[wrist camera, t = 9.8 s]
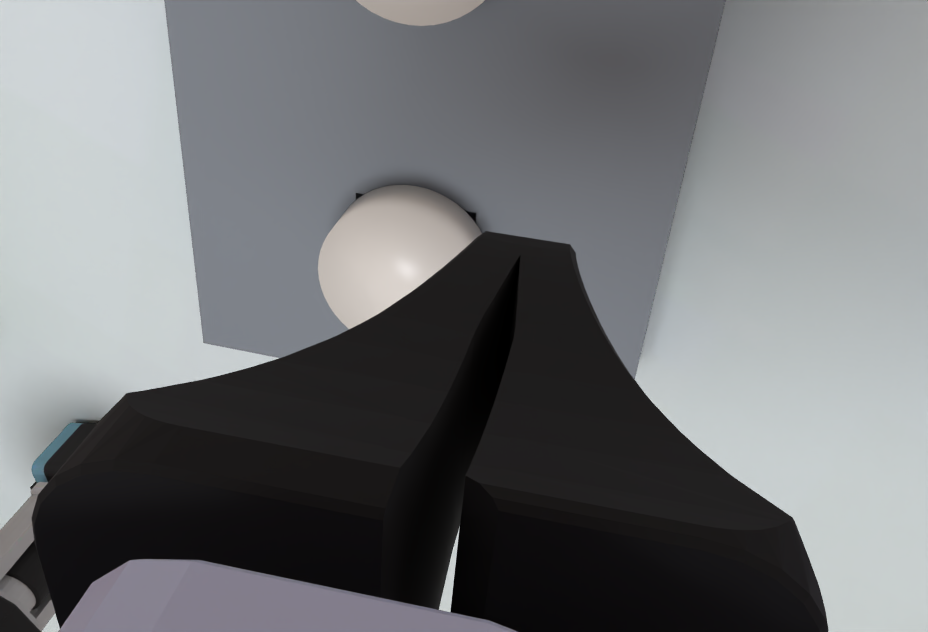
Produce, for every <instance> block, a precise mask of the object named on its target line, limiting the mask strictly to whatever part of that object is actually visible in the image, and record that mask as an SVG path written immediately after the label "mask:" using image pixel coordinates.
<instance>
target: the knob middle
mask: <svg viewBox="0 0 928 632" xmlns="http://www.w3.org/2000/svg"><path fill="white" fill-rule="evenodd" d="M356 1H357V2H358V3H359V4H361V5H362V6H364V7H365V8H367V9H368V10H369V11H371V12H373V13H375V14H377V15H379V16H381V17H383V18H385V19H388V20H391V21H394V22H397V23H401V24H406V25H415V26H428V25H437V24H442V23H446V22H449V21H452V20H455V19H457V18H460V17H462V16H463V15H465V14H467V13H469V12H471V11H472V10H474V9H475V8H476V7H478V6H479V5H480V4H482V3H483V2H484V1H485V0H356Z"/></svg>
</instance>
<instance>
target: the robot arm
mask: <svg viewBox="0 0 928 632" xmlns="http://www.w3.org/2000/svg"><path fill="white" fill-rule="evenodd" d="M31 518H32V526H33V534H34V542H35V546H36V550H37V553H38V556H39V560H40V563H41V566H42V570H43V573H44V576H45V580H46V583H47V586H48V590H49V593H50V596H51V600H52V603H53V606H54V610H55V613H56V617H57V620H58V623H59V627H60V630H59V631H58V632H828V624H827V618H826V612H825V607H824V603H823V600H822V596H821V592H820V588H819V585H818V582H817V579H816V577H815V574H814V571H813V568H812V566H811V563H810V560H809V557H808V555H807V552H806V550H805V547H804V544H803V542H802V539H801V536H800V534H799V531H798V529H797V526H796V524H795V521H794V520H793V518H792V517H791V516H789V515H788V514H786V513H785V512H784V511H782V510H781V509H779V508H778V507H776V506H775V505H773V504H772V503H770V502H769V501H767V500H766V499H765V498H763V497H762V496H760V495H759V494H757V493H756V492H754V491H753V490H751V489H750V488H748V487H747V486H746V485H744V484H743V483H741V482H740V481H738V480H737V479H735V478H734V477H733V476H731V475H730V474H729V473H727V472H726V471H725V470H724V469H723V468H721V467H720V466H719V465H718V464H717V463H715V462H714V461H713V460H712V459H710V458H709V457H708V456H707V455H706V454H704V453H703V452H702V451H701V450H700V449H698V448H697V447H696V446H695V445H694V444H693V443H692V442H691V441H690V440H689V439H688V438H686V437H685V436H684V435H683V434H682V433H681V432H680V431H679V430H678V429H677V428H676V427H675V426H674V425H673V424H672V423H671V422H670V421H669V420H668V419H667V418H666V417H665V415H664V414H663V413H662V412H661V411H660V410H659V409H658V408H657V407H656V406H655V405H654V404H653V403H652V402H651V400H650V399H649V398H648V397H647V396H646V395H645V393H644V392H643V390H642V389H641V388H640V386H639V385H638V384H637V382H636V381H635V380H634V378H633V377H632V376H631V374H630V373H629V371H628V370H627V368H626V367H625V365H624V364H623V362H622V361H621V359H620V357H619V356H618V354H617V352H616V351H615V349H614V347H613V346H612V344H611V342H610V340H609V339H608V337H607V335H606V333H605V331H604V329H603V327H602V326H601V324H600V321H599V319H598V317H597V315H596V313H595V311H594V308H593V306H592V304H591V302H590V300H589V297H588V295H587V292H586V290H585V287H584V284H583V281H582V278H581V275H580V272H579V268H578V264H577V259H576V252H575V251H574V249H573V248H572V247H571V245H570V244H565V243H559V242H553V241H546V240H540V239H534V238H527V237H521V236H514V235H508V234H502V233H495V232H489V231H485V232H484V233H482V234H481V235H479V236H478V237H477V238H476V239H475V240H473V241H472V242H471V243H470V244H469V245H468V246H467V247H466V248H465V249H464V250H462V251H461V252H460V253H459V254H458V255H457V256H456V257H454V258H453V259H452V260H451V261H450V262H449V263H447V264H446V265H445V266H444V267H443V268H441V269H440V270H439V271H438V272H436V273H435V274H434V275H433V276H431V277H430V278H429V279H427V280H426V281H425V282H424V283H422V284H421V285H420V286H418V287H417V288H416V289H414V290H413V291H412V292H410V293H409V294H407V295H406V296H404V297H403V298H401V299H400V300H398V301H397V302H395V303H394V304H392V305H391V306H390V307H388V308H387V309H385V310H384V311H382V312H380V313H379V314H377V315H375V316H374V317H372V318H370V319H368V320H366V321H365V322H363V323H361V324H359V325H357V326H355V327H353V328H351V329H349V330H347V331H345V332H343V333H341V334H339V335H337V336H334V337H332V338H330V339H328V340H325V341H323V342H320V343H317V344H315V345H312V346H310V347H307V348H305V349H302V350H300V351H297V352H295V353H292V354H290V355H287V356H285V357H282V358H279V359H276V360H273V361H270V362H267V363H263V364H260V365H257V366H254V367H251V368H247V369H243V370H239V371H236V372H232V373H228V374H225V375H221V376H217V377H212V378H208V379H204V380H199V381H194V382H188V383H183V384H177V385H172V386H167V387H161V388H156V389H150V390H145V391H138V392H132V393H127V394H126V395H125V396H124V397H123V398H122V399H121V400H120V401H119V402H118V403H117V404H116V405H115V406H114V407H113V408H112V409H111V410H110V411H109V412H108V413H107V414H106V415H105V416H104V417H103V418H102V419H101V420H100V421H99V422H98V423H97V425H96V426H95V427H94V428H93V429H92V431H91V432H90V433H89V434H88V435H87V437H86V438H85V439H84V440H83V442H82V443H81V444H80V445H79V446H78V447H77V449H76V450H75V451H74V452H73V453H72V455H71V456H70V457H69V458H68V459H67V461H66V462H65V463H64V464H63V465H62V467H61V468H60V469H59V470H58V471H57V473H56V474H55V475H54V476H53V477H52V479H51V480H50V481H49V482H48V483H47V485H46V486H45V487H44V488H43V489H42V491H41V492H40V493H39V494H38V496H37V500H36V503H35V507H34V510H33V514H32V517H31ZM459 526H460V530H459V539H458V549H457V558H456V567H455V576H454V586H453V595H452V604H451V612H446V611H441V610H439V606H440V601H441V597H442V593H443V588H444V584H445V580H446V575H447V571H448V567H449V563H450V558H451V554H452V550H453V546H454V543H455V540H456V536H457V533H458V529H459Z"/></svg>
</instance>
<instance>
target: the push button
mask: <svg viewBox="0 0 928 632" xmlns="http://www.w3.org/2000/svg"><path fill="white" fill-rule="evenodd" d="M96 425H97V424H90V423H70V424H68V425H67V426H66V427H65V428H64V429H63V431H62V432H61V433H60V434H59V436H58V437H57V438H56V439H55V440H54V441H53V442H52V443H51V444H50V445H49V446H48V447H47V448H46V449H45V450H44V452H43V453H42V454H41V455H40V456H39V457H38V458H37V459H36V460H35V461H34V463H33V465H32V474H33V476H34V478H35V480H36V482H35V483H34V484H33V485H32V486H31V487H30V488H31V497H30V498H29V499H28V500H27V501H26V502H25V503H24V504H23V505H22V507H21V508H20V509H19V510H18V511H17V512H16V513H15V514H14V515H13V517H12V518H11V519H10V520H9V521H8V522H7V523H6V524H5V526H4V527H3V528H2V529H1V530H0V632H41V631H42V630H43V629H44V627H45V626H46V624H47V623H48V622H49V620H50V619H51V618H52V616H53V615H54V614H55V610H54V606H53V603H52V600H51V596H50V593H49V590H48V586H47V583H46V580H45V576H44V573H43V570H42V566H41V563H40V560H39V556H38V553H37V550H36V546H35V542H34V534H33V526H32V518H31V517H32V514H33V510H34V507H35V503H36V500H37V496H38V494H39V493H40V492H41V491H42V489H43V488H44V487H45V486H46V485H47V483H48V482H49V481H50V480H51V479H52V477H53V476H54V475H55V474H56V473H57V471H58V470H59V469H60V468H61V467H62V465H63V464H64V463H65V462H66V461H67V459H68V458H69V457H70V456H71V455H72V453H73V452H74V451H75V450H76V449H77V447H78V446H79V445H80V444H81V443H82V442H83V440H84V439H85V438H86V437H87V435H88V434H89V433H90V432H91V431H92V429H93V428H94V427H95V426H96Z"/></svg>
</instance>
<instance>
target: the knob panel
mask: <svg viewBox="0 0 928 632" xmlns="http://www.w3.org/2000/svg"><path fill="white" fill-rule="evenodd" d="M164 1H165V9H166V18H167V27H168V36H169V44H170V53H171V62H172V71H173V79H174V88H175V97H176V106H177V114H178V123H179V132H180V141H181V149H182V158H183V167H184V176H185V185H186V193H187V202H188V211H189V220H190V228H191V237H192V246H193V255H194V263H195V272H196V281H197V290H198V298H199V307H200V316H201V325H202V333H203V342H204V343H206V344H211V345H216V346H222V347H227V348H232V349H237V350H242V351H247V352H252V353H257V354H262V355H267V356H272V357H278V358H282V357H285V356H287V355H290V354H292V353H295V352H297V351H300V350H302V349H305V348H307V347H310V346H312V345H315V344H317V343H320V342H323V341H325V340H328V339H330V338H332V337H334V336H337V335H339V334H341V333H343V332H345V331H347V330H349V329H348V328H347V327H346V326H345V325H344V324H343V323H342V322H341V321H340V320H339V319H338V317H337V316H336V315H335V314H334V312H333V311H332V309H331V308H330V306H329V305H328V303H327V301H326V299H325V297H324V294H323V292H322V289H321V286H320V281H319V275H318V259H319V255H320V250H321V247H322V245H323V242H324V240H325V239H326V237H327V235H328V234H329V232H330V231H331V230H332V228H333V227H334V226H335V224H336V223H337V222H338V220H339V219H340V218H341V216H342V215H343V214H344V213H345V211H346V210H347V209H348V208H349V206H350V205H351V204H352V203H353V202H354V201H356V200H357V199H358V198H359V197H361V196H363V195H364V194H366V193H368V192H370V191H372V190H374V189H378V188H381V187H385V186H391V185H411V186H418V187H422V188H426V189H429V190H432V191H435V192H437V193H439V194H441V195H443V196H445V197H447V198H449V199H450V200H452V201H453V202H455V203H456V204H457V205H459V206H460V207H461V208H462V209H463V210H464V211H465V212H466V213H467V214H468V215H469V216H470V217H471V218H472V219H473V221H474V222H475V223H476V225H477V226H478V227H479V229H480V231H481V233H484V232H485V231H489V232H495V233H502V234H508V235H514V236H521V237H527V238H534V239H540V240H546V241H553V242H559V243H565V244H570V245H571V247H572V248H573V249H574V251H575V252H576V259H577V264H578V268H579V272H580V275H581V278H582V281H583V284H584V287H585V290H586V292H587V295H588V297H589V300H590V302H591V304H592V306H593V308H594V311H595V313H596V315H597V317H598V319H599V321H600V324H601V326H602V327H603V329H604V331H605V333H606V335H607V337H608V339H609V340H610V342H611V344H612V346H613V347H614V349H615V351H616V352H617V354H618V356H619V357H620V359H621V361H622V362H623V364H624V365H625V367H626V368H627V370H628V371H629V373H630V374H631V376H632V377H633V378H634V380H635V375H636V371H637V367H638V363H639V359H640V355H641V350H642V346H643V342H644V338H645V334H646V330H647V325H648V321H649V317H650V313H651V309H652V305H653V301H654V296H655V292H656V288H657V284H658V280H659V276H660V271H661V267H662V263H663V259H664V255H665V251H666V246H667V242H668V238H669V234H670V230H671V226H672V222H673V217H674V213H675V209H676V205H677V201H678V197H679V192H680V188H681V184H682V180H683V176H684V172H685V167H686V163H687V159H688V155H689V151H690V147H691V142H692V138H693V134H694V130H695V126H696V122H697V118H698V113H699V109H700V105H701V101H702V97H703V93H704V88H705V84H706V80H707V76H708V72H709V68H710V63H711V59H712V55H713V51H714V47H715V43H716V38H717V34H718V30H719V26H720V22H721V18H722V14H723V9H724V5H725V1H726V0H485V1H484V2H483V3H482V4H480V5H479V6H478V7H476V8H475V9H474V10H472V11H471V12H469V13H467V14H465V15H463V16H462V17H460V18H457V19H455V20H452V21H449V22H446V23H442V24H437V25H428V26H415V25H406V24H401V23H397V22H394V21H391V20H388V19H385V18H383V17H381V16H379V15H377V14H375V13H373V12H371V11H369V10H368V9H367V8H365V7H364V6H362V5H361V4H359V3H358V2H357V1H356V0H164Z"/></svg>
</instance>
